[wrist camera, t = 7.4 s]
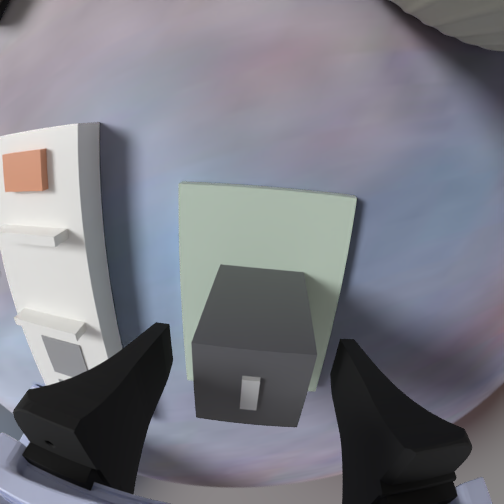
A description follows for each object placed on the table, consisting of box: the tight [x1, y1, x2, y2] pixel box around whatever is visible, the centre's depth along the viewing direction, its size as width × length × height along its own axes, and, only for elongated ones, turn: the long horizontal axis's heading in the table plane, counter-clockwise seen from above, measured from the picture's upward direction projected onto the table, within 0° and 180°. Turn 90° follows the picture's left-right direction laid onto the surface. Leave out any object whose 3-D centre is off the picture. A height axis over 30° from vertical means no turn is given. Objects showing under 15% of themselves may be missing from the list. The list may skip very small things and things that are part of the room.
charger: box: [191, 264, 317, 427], centre depth 13 cm, size 4×4×6 cm
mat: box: [179, 182, 357, 391], centre depth 16 cm, size 12×8×1 cm, turn 176°
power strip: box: [0, 122, 122, 386], centre depth 16 cm, size 20×7×3 cm, turn 176°
